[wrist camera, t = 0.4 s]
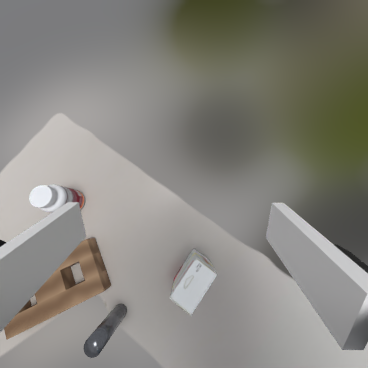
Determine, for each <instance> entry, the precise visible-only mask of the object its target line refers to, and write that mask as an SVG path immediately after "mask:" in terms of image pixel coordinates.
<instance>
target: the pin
mask: <svg viewBox="0 0 368 368" xmlns="http://www.w3.org/2000/svg"><path fill="white" fill-rule="evenodd" d="M126 312H127V309H126V306H125V305H123V304H118V305H116V307H115V308H114V309H113V310H112V311H111V312H110V314H109V315H108V316H107V317H106V318H105V319H104V320H103V322H102V323H101V324H100V325H99V326H98V327H97V329H96V330H95V331H94V332H93V333H92V334H91V336H90V337H89V338H88V339H87V340H86V342H85V344H84V352H85V354H86V355H87V356H88V357H91V358H92V357H96V356H98V355H99V353H100V352H101V351H102V349H103V348H104V346H105V345H106V343H107V342H108V340H109V339H110V337H111V336H112V334H113V333H114V331H115V330H116V328H117V327H118V325H119V324H120V322H121V321H122V319H123V318H124V316H125V315H126Z"/></svg>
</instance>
